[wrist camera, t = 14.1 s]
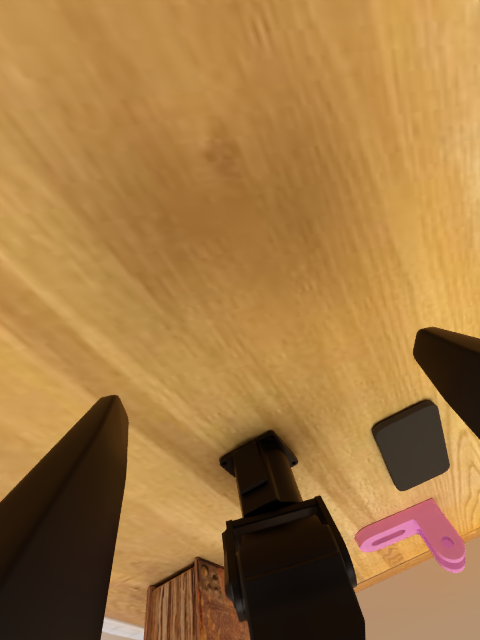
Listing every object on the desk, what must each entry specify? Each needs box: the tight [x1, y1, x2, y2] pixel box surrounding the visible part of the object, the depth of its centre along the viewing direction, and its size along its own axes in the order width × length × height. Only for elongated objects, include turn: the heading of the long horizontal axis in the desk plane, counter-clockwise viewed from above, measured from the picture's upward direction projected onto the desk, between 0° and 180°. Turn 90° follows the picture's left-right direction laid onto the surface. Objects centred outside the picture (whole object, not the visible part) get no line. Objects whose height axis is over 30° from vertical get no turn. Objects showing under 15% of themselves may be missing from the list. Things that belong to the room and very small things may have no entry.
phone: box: [373, 401, 450, 491], centre depth 35 cm, size 7×1×15 cm
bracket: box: [355, 498, 465, 573], centre depth 42 cm, size 13×6×7 cm, turn 114°
